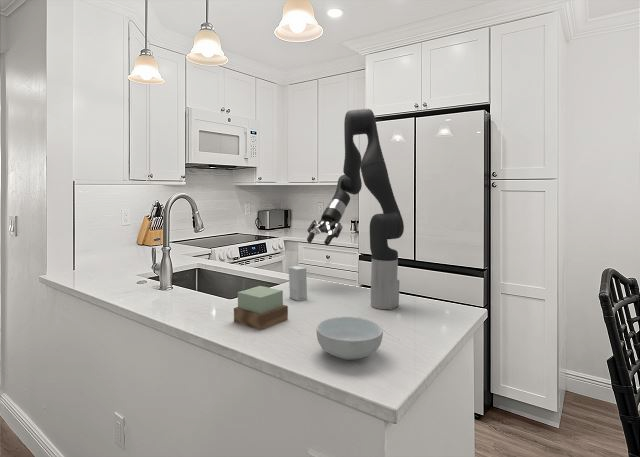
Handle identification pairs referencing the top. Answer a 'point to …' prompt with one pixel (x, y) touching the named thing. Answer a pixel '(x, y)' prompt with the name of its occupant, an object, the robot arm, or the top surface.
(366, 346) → the cereal bowl
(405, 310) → the top surface
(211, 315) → the top surface
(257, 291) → the tower top
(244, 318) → the tower base
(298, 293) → the skincare box
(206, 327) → the top surface
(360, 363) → the top surface
